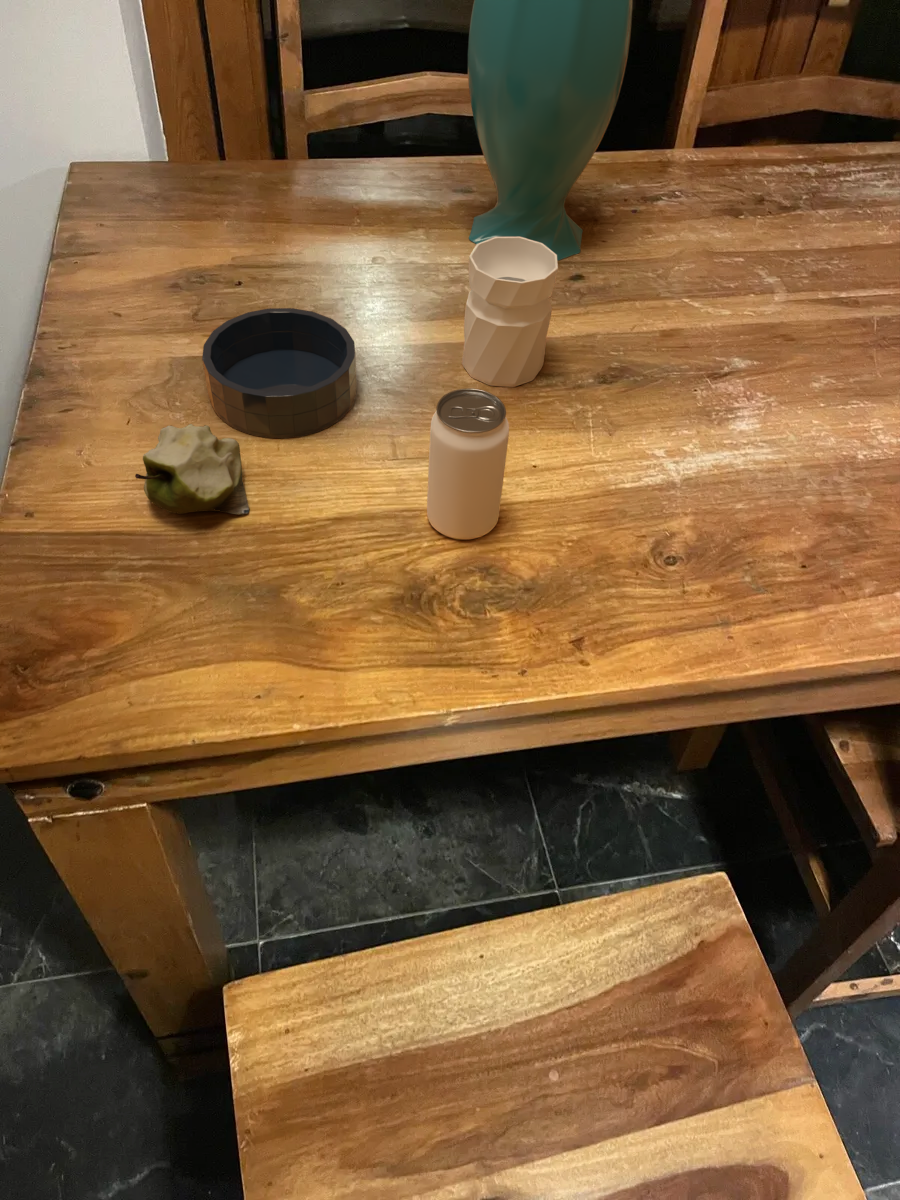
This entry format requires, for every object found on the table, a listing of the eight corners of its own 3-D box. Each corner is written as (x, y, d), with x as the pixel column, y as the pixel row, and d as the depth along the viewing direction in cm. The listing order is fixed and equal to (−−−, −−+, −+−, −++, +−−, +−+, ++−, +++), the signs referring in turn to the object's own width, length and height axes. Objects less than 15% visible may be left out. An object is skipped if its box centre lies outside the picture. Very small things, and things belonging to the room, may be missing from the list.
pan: (205, 441, 89) (197, 398, 85) (214, 351, 98) (207, 309, 95) (359, 436, 90) (358, 394, 87) (353, 348, 100) (351, 306, 96)
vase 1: (448, 260, 112) (463, -29, 90) (468, 194, 124) (486, -78, 101) (590, 278, 111) (642, -9, 89) (598, 210, 123) (646, -61, 100)
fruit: (173, 554, 81) (135, 486, 75) (149, 493, 87) (112, 426, 81) (271, 510, 83) (241, 441, 76) (241, 453, 88) (211, 385, 82)
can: (498, 544, 82) (512, 437, 73) (425, 541, 82) (429, 433, 73) (497, 493, 86) (510, 386, 77) (427, 490, 86) (432, 383, 77)
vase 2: (445, 367, 98) (451, 262, 89) (489, 330, 103) (499, 226, 94) (515, 398, 96) (529, 293, 86) (558, 359, 100) (575, 255, 91)
